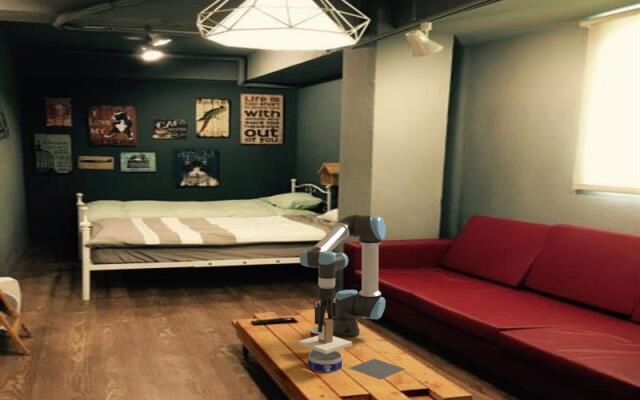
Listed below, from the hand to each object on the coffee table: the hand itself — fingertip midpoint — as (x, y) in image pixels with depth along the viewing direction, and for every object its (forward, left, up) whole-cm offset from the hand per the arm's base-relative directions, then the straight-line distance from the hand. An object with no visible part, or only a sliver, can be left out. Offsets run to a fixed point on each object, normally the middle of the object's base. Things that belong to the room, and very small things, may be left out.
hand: (325, 337), depth 259 cm
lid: (0, 0, -3) cm, 3 cm away
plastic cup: (-11, -14, -14) cm, 23 cm away
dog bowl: (0, 0, -14) cm, 14 cm away
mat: (-15, +18, -13) cm, 27 cm away
